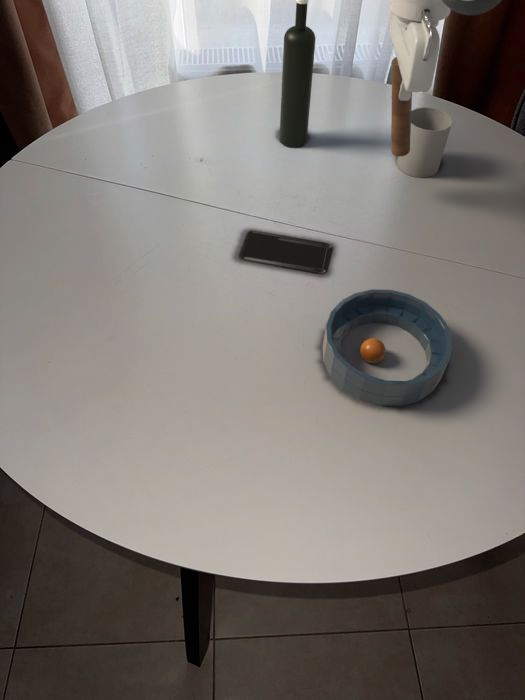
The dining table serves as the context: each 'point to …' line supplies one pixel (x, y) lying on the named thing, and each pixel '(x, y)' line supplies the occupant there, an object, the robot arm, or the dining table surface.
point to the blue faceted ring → (399, 313)
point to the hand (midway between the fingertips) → (401, 91)
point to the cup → (425, 142)
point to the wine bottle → (297, 79)
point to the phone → (285, 252)
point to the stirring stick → (399, 116)
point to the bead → (372, 350)
